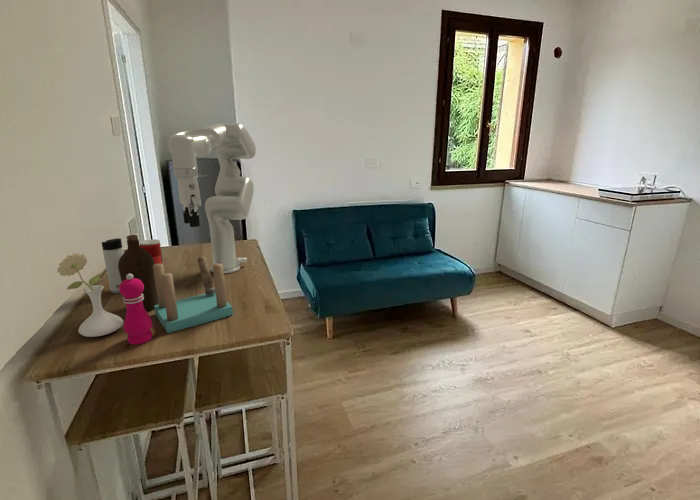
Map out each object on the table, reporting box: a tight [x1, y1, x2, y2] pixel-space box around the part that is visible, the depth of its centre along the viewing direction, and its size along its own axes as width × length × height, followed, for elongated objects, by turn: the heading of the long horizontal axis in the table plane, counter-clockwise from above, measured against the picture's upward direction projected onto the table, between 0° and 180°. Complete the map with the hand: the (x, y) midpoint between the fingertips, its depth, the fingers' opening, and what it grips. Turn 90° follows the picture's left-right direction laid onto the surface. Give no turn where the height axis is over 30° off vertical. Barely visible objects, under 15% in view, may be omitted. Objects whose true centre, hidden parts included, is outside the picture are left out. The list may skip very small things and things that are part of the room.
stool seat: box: [153, 263, 234, 334], centre depth 125 cm, size 20×16×17 cm
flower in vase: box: [56, 252, 124, 338], centre depth 113 cm, size 13×11×25 cm
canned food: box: [139, 238, 164, 264], centre depth 172 cm, size 8×8×11 cm
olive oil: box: [118, 234, 159, 313], centre depth 129 cm, size 11×11×25 cm
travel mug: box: [101, 237, 125, 294], centre depth 144 cm, size 6×7×20 cm
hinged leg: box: [197, 255, 216, 295], centre depth 135 cm, size 3×3×14 cm
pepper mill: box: [119, 274, 153, 346], centre depth 109 cm, size 7×7×20 cm
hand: (192, 224), depth 139 cm, fingers open, 6 cm apart
